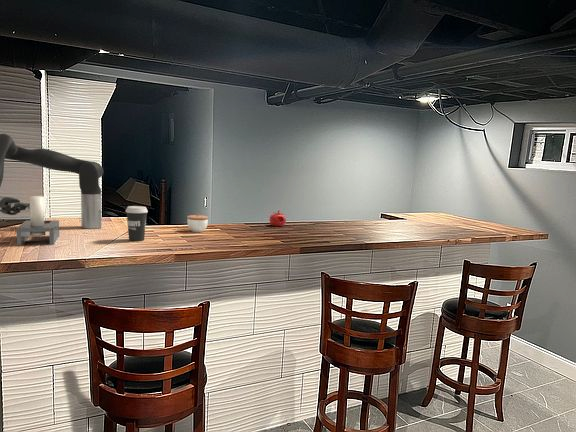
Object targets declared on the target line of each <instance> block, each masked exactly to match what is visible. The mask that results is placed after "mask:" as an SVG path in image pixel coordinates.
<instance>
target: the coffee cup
mask: <svg viewBox="0 0 576 432" xmlns="http://www.w3.org/2000/svg"><path fill="white" fill-rule="evenodd" d="M148 212H149V211H148V209H147V207H146V206H141V205H131V206H130V205H128V206H127V207H126V209H125V213H126V220H127V230H128V231H127V233H128V241H129V242H142V241H145V235H146V225H147V215H148Z"/></svg>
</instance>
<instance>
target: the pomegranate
mask: <svg viewBox="0 0 576 432" xmlns="http://www.w3.org/2000/svg"><path fill="white" fill-rule="evenodd" d="M285 215H286V214H284V213H281V212H280V210H279V209H278V210H277V212H274V213H272V214H271V215H270V216H269V224H270V225H271V226H272V227H278V228H279V227H284V226H285V225H286V223H287V219H286V217H285Z"/></svg>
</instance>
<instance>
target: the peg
mask: <svg viewBox="0 0 576 432" xmlns="http://www.w3.org/2000/svg"><path fill="white" fill-rule="evenodd" d="M29 203H30V211H29V212H30V213H29V214H30V217H29V218H30V220H29V221H31V226H44V220H45V197H44V196H39V195H33V196H32V195H31V196H29ZM41 236H42V237H43V236H46V232H30V237H41Z"/></svg>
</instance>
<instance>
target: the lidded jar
mask: <svg viewBox="0 0 576 432" xmlns="http://www.w3.org/2000/svg"><path fill="white" fill-rule="evenodd" d="M186 218H187V222H186V223H187V227H188V228H189V230H191V232H193V233H203V232H204V231H205V230H206V229H207V227H208V224H209V216H207V215H201V214H199V213H198V212H197V213H196V214H191V215H187V217H186Z"/></svg>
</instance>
